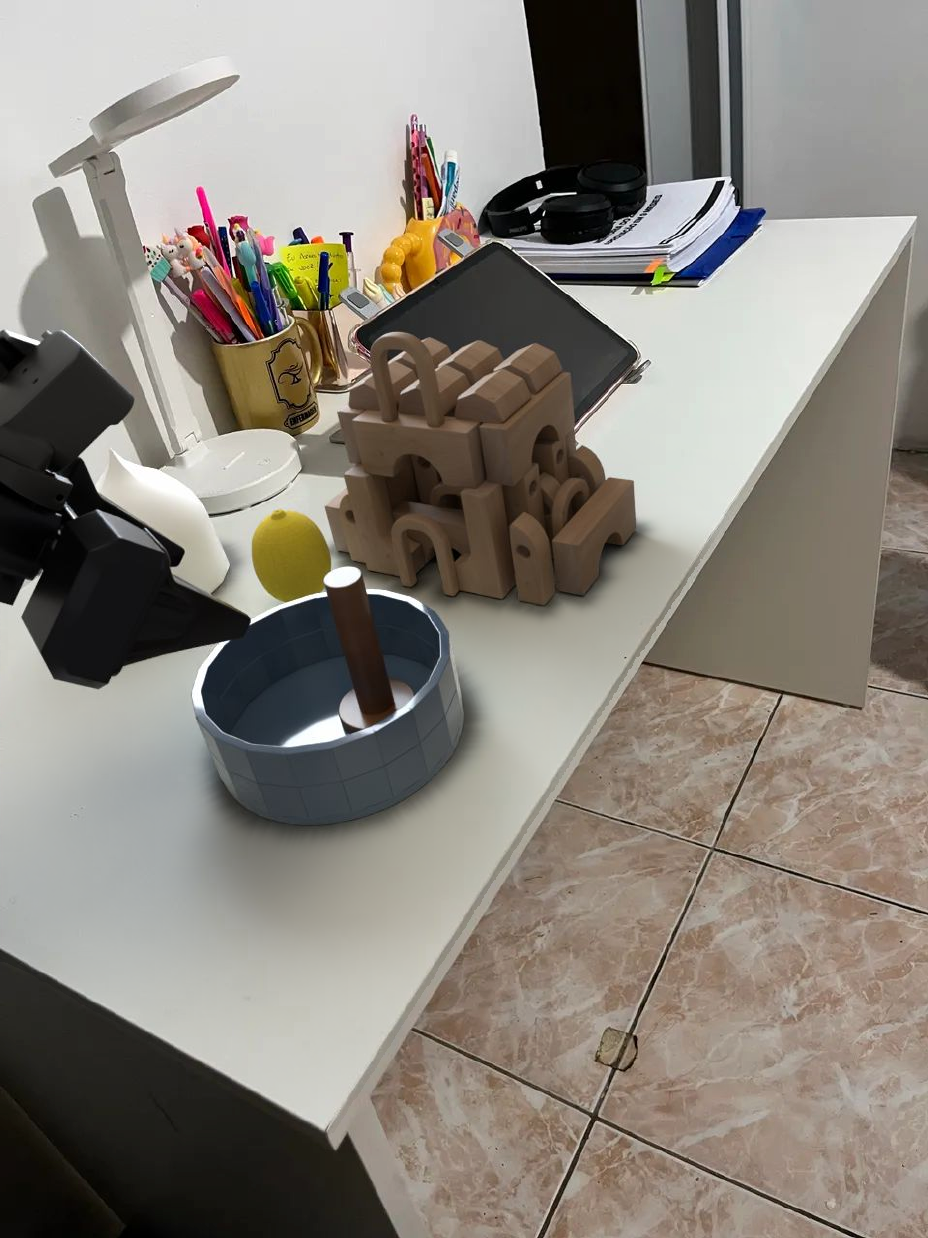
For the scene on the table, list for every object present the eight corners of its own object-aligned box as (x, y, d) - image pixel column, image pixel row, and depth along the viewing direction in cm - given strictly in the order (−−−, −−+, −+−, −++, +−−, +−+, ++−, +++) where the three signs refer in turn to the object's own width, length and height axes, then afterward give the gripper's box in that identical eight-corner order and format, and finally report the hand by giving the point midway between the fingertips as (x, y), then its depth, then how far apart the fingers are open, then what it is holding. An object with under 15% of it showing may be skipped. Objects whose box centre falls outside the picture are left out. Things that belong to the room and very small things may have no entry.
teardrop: (229, 533, 82) (185, 403, 75) (230, 599, 73) (180, 459, 66) (102, 563, 81) (45, 435, 75) (87, 635, 72) (21, 496, 65)
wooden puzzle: (647, 516, 74) (636, 273, 63) (564, 621, 64) (534, 356, 54) (415, 482, 85) (372, 270, 74) (315, 567, 75) (249, 338, 65)
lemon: (275, 588, 74) (246, 497, 69) (345, 579, 73) (320, 487, 69) (263, 629, 69) (231, 535, 65) (337, 620, 69) (310, 525, 64)
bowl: (360, 862, 50) (336, 789, 47) (169, 774, 58) (138, 706, 55) (510, 690, 59) (498, 619, 56) (328, 635, 67) (309, 570, 64)
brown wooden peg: (385, 747, 56) (348, 609, 50) (324, 724, 58) (282, 590, 53) (431, 698, 59) (401, 562, 53) (372, 678, 62) (337, 547, 56)
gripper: (6, 341, 30) (371, 510, 41) (-78, 261, 44) (214, 404, 55) (-130, 643, 32) (257, 731, 42) (-170, 476, 45) (131, 574, 56)
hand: (211, 590), depth 49 cm, fingers open, 9 cm apart
